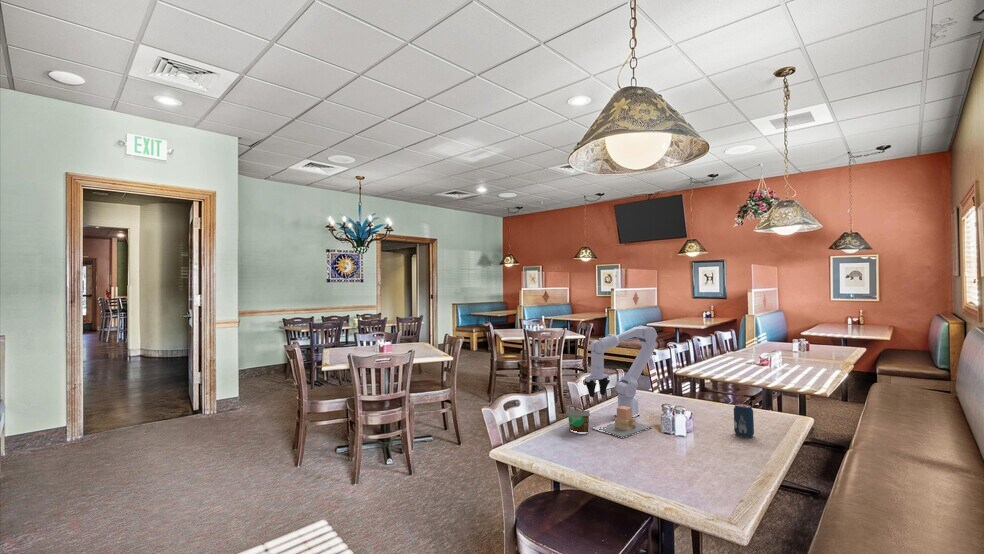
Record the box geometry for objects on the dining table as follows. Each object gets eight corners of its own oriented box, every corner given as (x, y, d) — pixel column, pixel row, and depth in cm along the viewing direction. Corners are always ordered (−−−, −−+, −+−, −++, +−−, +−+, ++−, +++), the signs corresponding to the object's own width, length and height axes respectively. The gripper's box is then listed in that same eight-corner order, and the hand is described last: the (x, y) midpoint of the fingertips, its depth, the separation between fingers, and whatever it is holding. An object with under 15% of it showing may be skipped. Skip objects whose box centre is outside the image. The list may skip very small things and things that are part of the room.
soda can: (749, 432, 182) (748, 403, 182) (757, 438, 175) (756, 407, 175) (731, 432, 182) (730, 403, 183) (739, 438, 175) (738, 407, 176)
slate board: (620, 419, 202) (620, 418, 202) (651, 428, 189) (651, 426, 189) (591, 429, 190) (591, 427, 190) (622, 438, 177) (622, 436, 177)
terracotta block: (622, 416, 192) (622, 405, 192) (632, 418, 188) (631, 407, 189) (616, 418, 189) (616, 407, 189) (626, 420, 185) (626, 409, 186)
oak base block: (623, 424, 192) (623, 415, 193) (635, 428, 188) (635, 418, 188) (615, 427, 189) (614, 418, 189) (627, 431, 184) (626, 421, 184)
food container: (561, 428, 191) (560, 405, 191) (572, 426, 194) (572, 403, 194) (578, 437, 180) (577, 412, 180) (590, 435, 183) (589, 410, 183)
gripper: (600, 363, 214) (600, 392, 213) (580, 366, 205) (580, 396, 205) (612, 365, 208) (612, 395, 208) (592, 368, 199) (592, 399, 199)
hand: (597, 395), depth 206 cm, fingers open, 7 cm apart
